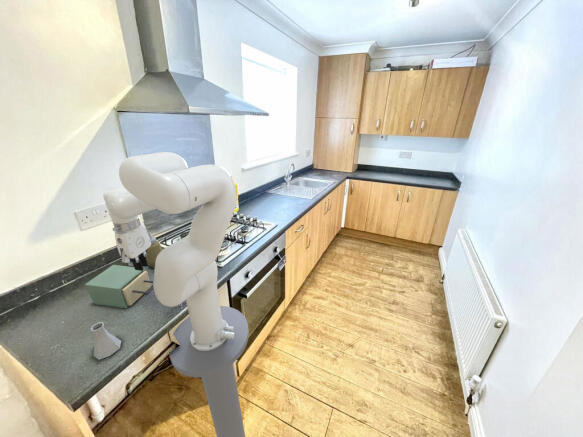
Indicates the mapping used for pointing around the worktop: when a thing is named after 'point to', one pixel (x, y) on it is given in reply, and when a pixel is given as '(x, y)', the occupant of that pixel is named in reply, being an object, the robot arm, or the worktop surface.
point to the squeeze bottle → (153, 251)
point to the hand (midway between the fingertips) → (141, 267)
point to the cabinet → (111, 285)
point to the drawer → (137, 288)
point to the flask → (104, 341)
